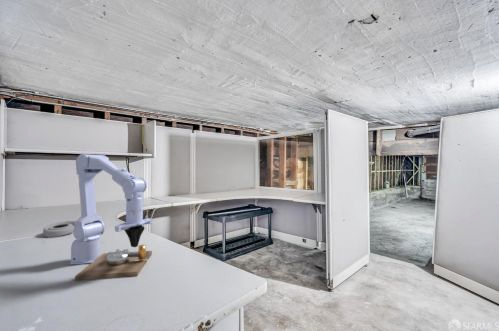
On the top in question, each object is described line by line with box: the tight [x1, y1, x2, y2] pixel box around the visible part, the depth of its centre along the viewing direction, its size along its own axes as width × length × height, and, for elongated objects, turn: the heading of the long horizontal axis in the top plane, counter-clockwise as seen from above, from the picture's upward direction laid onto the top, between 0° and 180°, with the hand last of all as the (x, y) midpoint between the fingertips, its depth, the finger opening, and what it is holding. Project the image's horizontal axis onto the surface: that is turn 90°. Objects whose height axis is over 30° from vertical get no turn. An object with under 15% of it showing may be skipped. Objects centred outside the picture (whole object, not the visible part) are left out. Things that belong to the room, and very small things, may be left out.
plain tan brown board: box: [74, 250, 153, 281], centre depth 94 cm, size 21×22×2 cm
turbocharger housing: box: [42, 220, 77, 238], centre depth 142 cm, size 17×6×15 cm
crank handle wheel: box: [107, 244, 147, 265], centre depth 95 cm, size 14×8×6 cm, turn 94°
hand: (134, 246), depth 91 cm, fingers closed
